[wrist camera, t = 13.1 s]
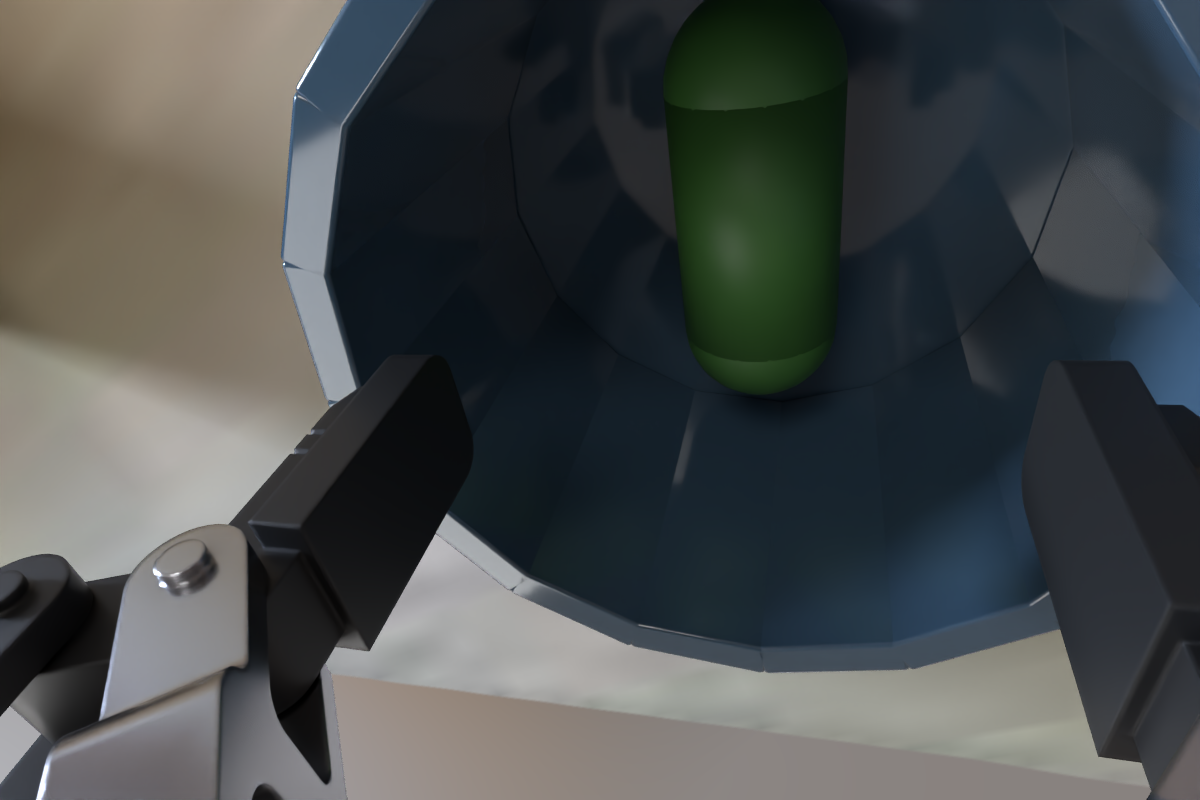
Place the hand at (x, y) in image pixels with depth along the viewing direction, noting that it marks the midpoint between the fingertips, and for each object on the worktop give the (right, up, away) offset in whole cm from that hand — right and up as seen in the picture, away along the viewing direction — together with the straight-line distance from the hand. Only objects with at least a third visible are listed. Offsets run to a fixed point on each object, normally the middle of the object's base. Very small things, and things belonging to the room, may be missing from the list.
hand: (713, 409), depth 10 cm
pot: (+2, +5, +7) cm, 9 cm away
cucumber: (+2, +5, +6) cm, 8 cm away
